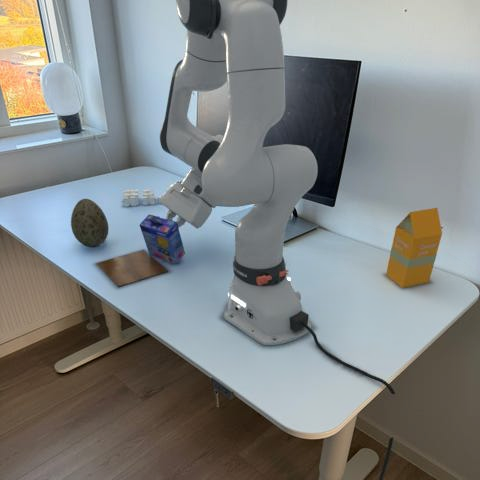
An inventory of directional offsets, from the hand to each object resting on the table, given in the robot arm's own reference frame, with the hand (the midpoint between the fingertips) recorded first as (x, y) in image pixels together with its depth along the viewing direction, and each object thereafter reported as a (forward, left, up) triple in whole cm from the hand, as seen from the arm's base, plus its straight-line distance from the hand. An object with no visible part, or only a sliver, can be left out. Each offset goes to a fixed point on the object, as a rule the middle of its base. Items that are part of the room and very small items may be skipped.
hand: (168, 228), depth 134 cm
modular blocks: (+46, -10, -9) cm, 47 cm away
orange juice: (-45, -52, -9) cm, 69 cm away
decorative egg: (+19, +18, -9) cm, 28 cm away
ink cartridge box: (0, +1, -8) cm, 8 cm away
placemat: (-1, +13, -9) cm, 16 cm away
